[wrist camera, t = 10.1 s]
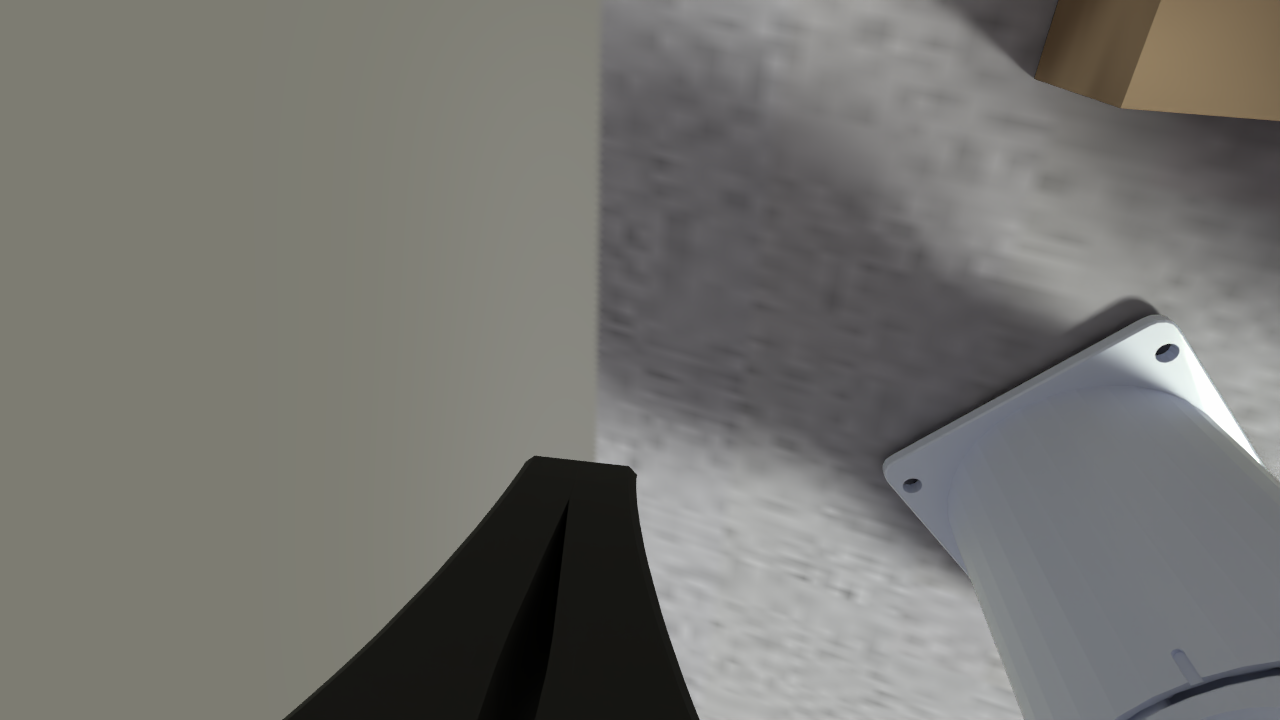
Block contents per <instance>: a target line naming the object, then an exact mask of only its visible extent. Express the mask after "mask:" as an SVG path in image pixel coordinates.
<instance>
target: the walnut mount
mask: <svg viewBox="0 0 1280 720" xmlns="http://www.w3.org/2000/svg"><path fill="white" fill-rule="evenodd" d="M1034 79H1036V80H1039V81H1042V82H1045V83H1048V84H1051V85H1054V86H1057V87H1060V88H1063V89H1066V90H1069V91H1072V92H1074V93H1077V94H1080V95H1083V96H1086V97H1089V98H1092V99H1095V100H1098V101H1101V102H1104V103H1107V104H1110V105H1113V106H1116V107H1118V108H1124V109H1136V110H1149V111H1161V112H1174V113H1186V114H1198V115H1211V116H1223V117H1236V118H1248V119H1260V120H1273V121H1280V0H1058V4H1057V7H1056V10H1055V13H1054V16H1053V20H1052V23H1051V26H1050V29H1049V32H1048V36H1047V39H1046V42H1045V45H1044V49H1043V52H1042V55H1041V58H1040V61H1039V65H1038V68H1037V71H1036V74H1035V77H1034Z"/></svg>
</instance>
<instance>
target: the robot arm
mask: <svg viewBox="0 0 1280 720" xmlns="http://www.w3.org/2000/svg"><path fill="white" fill-rule="evenodd" d="M1166 344H1171V346H1170V348H1169V350H1167V351H1166V352H1165V353H1163V354H1160V355H1155V354H1156V352H1157V350H1158V349H1159V348H1160V347H1161V346H1163V345H1166ZM883 473H884V477H885V479H886V481H887V482H888V483H889V485H890V486H891V487H892V488H893V489H894V490H895V492H896V493H897V494H898V495H899V496H900V497H901V499H902V500H903V501H904V502H905V503H906V504H907V506H908V507H909V508H910V509H911V510H912V511H913V512H914V514H915V515H916V516H917V517H918V518H919V519H920V521H921V522H922V523H923V524H924V525H925V526H926V528H927V529H928V530H929V531H930V532H931V533H932V535H933V536H934V537H935V538H936V539H937V540H938V542H939V543H940V544H941V545H942V546H943V547H944V549H945V550H946V551H947V552H948V553H949V554H950V555H951V557H952V558H953V559H954V560H955V561H956V562H957V564H958V565H959V566H960V567H961V568H962V569H963V571H964V572H965V573H966V574H967V575H968V576H969V578H970V580H971V582H972V585H973V588H974V590H975V593H976V595H977V598H978V601H979V603H980V606H981V608H982V611H983V614H984V616H985V619H986V621H987V624H988V627H989V629H990V632H991V634H992V637H993V640H994V642H995V645H996V648H997V650H998V653H999V655H1000V658H1001V661H1002V663H1003V666H1004V668H1005V671H1006V674H1007V676H1008V679H1009V681H1010V684H1011V687H1012V689H1013V692H1014V694H1015V697H1016V700H1017V702H1018V705H1019V707H1020V710H1021V713H1022V715H1023V718H1024V720H1280V482H1279V481H1278V480H1277V479H1276V478H1275V477H1274V476H1273V475H1272V474H1270V473H1269V472H1268V471H1267V469H1266V468H1265V466H1264V464H1263V463H1262V461H1261V459H1260V458H1259V456H1258V455H1257V453H1256V451H1255V450H1254V448H1253V446H1252V445H1251V443H1250V442H1249V440H1248V438H1247V437H1246V435H1245V433H1244V432H1243V430H1242V429H1241V427H1240V425H1239V424H1238V422H1237V421H1236V419H1235V417H1234V416H1233V414H1232V412H1231V411H1230V409H1229V408H1228V406H1227V404H1226V403H1225V401H1224V399H1223V398H1222V396H1221V395H1220V393H1219V391H1218V390H1217V388H1216V386H1215V385H1214V383H1213V382H1212V380H1211V378H1210V377H1209V375H1208V374H1207V372H1206V370H1205V369H1204V367H1203V365H1202V364H1201V362H1200V361H1199V359H1198V357H1197V356H1196V354H1195V352H1194V351H1193V349H1192V348H1191V346H1190V344H1189V343H1188V341H1187V339H1186V338H1185V336H1184V335H1183V333H1182V331H1181V330H1180V328H1179V327H1178V326H1177V325H1176V324H1175V323H1174V322H1173V321H1172V320H1170V319H1169V318H1168V317H1166V316H1163V315H1149V316H1147V317H1144V318H1142V319H1140V320H1138V321H1136V322H1134V323H1132V324H1131V325H1129V326H1127V327H1125V328H1123V329H1121V330H1120V331H1118V332H1116V333H1114V334H1112V335H1110V336H1109V337H1107V338H1105V339H1103V340H1101V341H1099V342H1098V343H1096V344H1094V345H1092V346H1090V347H1088V348H1087V349H1085V350H1083V351H1081V352H1079V353H1078V354H1076V355H1074V356H1072V357H1070V358H1068V359H1067V360H1065V361H1063V362H1061V363H1059V364H1057V365H1056V366H1054V367H1052V368H1050V369H1048V370H1046V371H1045V372H1043V373H1041V374H1039V375H1037V376H1035V377H1034V378H1032V379H1030V380H1028V381H1026V382H1024V383H1023V384H1021V385H1019V386H1017V387H1015V388H1013V389H1012V390H1010V391H1008V392H1006V393H1004V394H1003V395H1001V396H999V397H997V398H995V399H993V400H992V401H990V402H988V403H986V404H984V405H982V406H981V407H979V408H977V409H975V410H973V411H971V412H970V413H968V414H966V415H964V416H962V417H960V418H959V419H957V420H955V421H953V422H951V423H949V424H948V425H946V426H944V427H942V428H940V429H939V430H937V431H935V432H933V433H931V434H929V435H928V436H926V437H924V438H922V439H920V440H918V441H917V442H915V443H913V444H911V445H909V446H907V447H906V448H904V449H902V450H900V451H898V452H896V453H895V454H893V455H891V456H890V457H888V458H887V459H886V460H885V462H884V464H883ZM636 478H637V474H636V473H635V472H634V471H633V470H632V469H631V468H630V467H629V466H621V465H612V464H604V463H595V462H586V461H577V460H568V459H559V458H550V457H541V456H534V457H532V458H531V459H529V460H528V461H526V463H525V464H524V466H523V467H522V468H521V470H520V471H519V473H518V474H517V476H516V477H515V478H514V480H513V481H512V482H511V484H510V485H509V486H508V488H507V489H506V490H505V492H504V493H503V495H502V496H501V497H500V498H499V500H498V501H497V502H496V503H495V505H494V506H493V507H492V508H491V510H490V511H489V512H488V513H487V515H486V516H485V517H484V518H483V520H482V521H481V522H480V523H479V524H478V526H477V527H476V528H475V529H474V531H473V532H472V533H471V534H470V535H469V536H468V537H467V539H466V540H465V541H464V542H463V543H462V544H461V545H460V547H459V548H458V549H457V550H456V551H455V552H454V553H453V555H452V556H451V557H450V558H449V559H448V560H447V561H446V563H445V564H444V565H443V566H442V567H441V568H440V569H439V571H438V572H437V573H436V574H435V575H434V576H433V577H432V578H431V579H430V581H429V582H428V583H427V584H426V585H425V586H424V587H423V588H422V589H421V590H420V591H419V592H418V593H417V594H416V595H415V596H414V597H413V598H412V599H411V600H410V601H409V602H408V603H407V604H406V605H405V606H404V607H403V608H402V609H401V610H400V611H399V612H398V613H397V614H396V615H395V617H393V618H392V619H391V621H390V622H389V623H388V624H387V625H386V626H385V627H384V628H383V629H382V630H381V631H380V632H379V633H378V634H377V635H376V636H375V637H374V638H373V639H372V640H371V641H369V642H368V643H367V644H366V645H365V647H363V648H362V649H361V650H360V651H359V652H358V653H357V654H356V655H355V656H354V657H353V658H352V659H350V660H349V661H348V662H347V663H346V664H345V665H344V666H343V667H342V668H341V669H340V670H339V671H337V672H336V673H335V674H334V675H333V676H332V677H331V678H330V679H329V680H328V681H326V682H325V683H324V684H323V685H322V686H321V687H320V688H318V689H317V690H316V691H315V692H314V693H313V694H312V695H311V696H309V697H308V698H307V699H306V700H305V701H304V702H303V703H302V704H300V705H299V706H298V707H297V708H296V709H295V710H293V711H292V712H291V713H290V714H289V715H288V716H286V717H285V718H284V719H283V720H699V717H698V715H697V712H696V710H695V707H694V705H693V702H692V700H691V697H690V694H689V692H688V689H687V686H686V684H685V681H684V678H683V675H682V673H681V670H680V667H679V664H678V661H677V658H676V655H675V652H674V650H673V647H672V644H671V641H670V638H669V635H668V632H667V629H666V625H665V622H664V619H663V616H662V613H661V609H660V606H659V602H658V598H657V595H656V591H655V587H654V584H653V580H652V576H651V573H650V569H649V565H648V561H647V557H646V552H645V548H644V543H643V538H642V532H641V527H640V521H639V514H638V507H637V495H636ZM912 478H914V479H918V481H917V482H915V483H914V484H910V485H909V484H904V482H905V481H906V480H908V479H912Z"/></svg>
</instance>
